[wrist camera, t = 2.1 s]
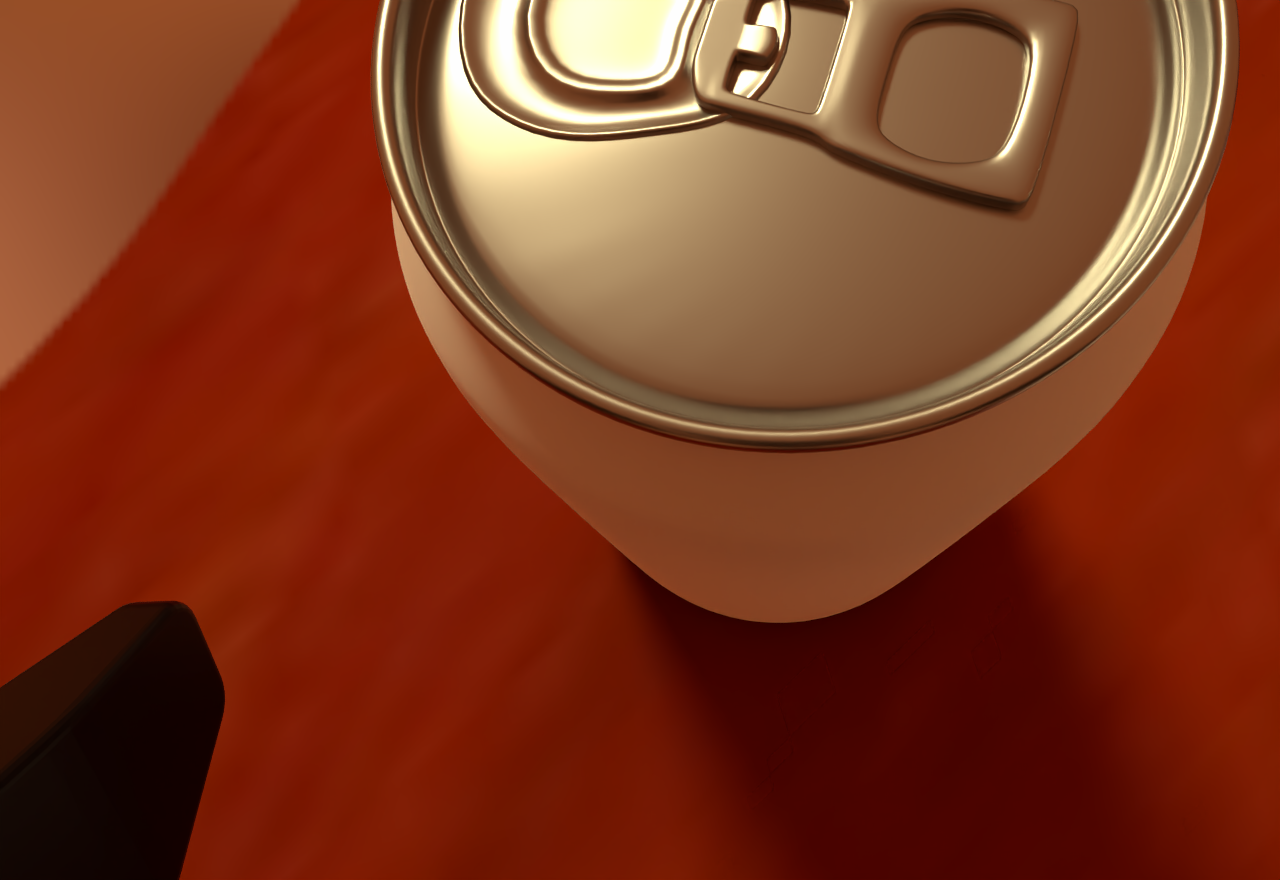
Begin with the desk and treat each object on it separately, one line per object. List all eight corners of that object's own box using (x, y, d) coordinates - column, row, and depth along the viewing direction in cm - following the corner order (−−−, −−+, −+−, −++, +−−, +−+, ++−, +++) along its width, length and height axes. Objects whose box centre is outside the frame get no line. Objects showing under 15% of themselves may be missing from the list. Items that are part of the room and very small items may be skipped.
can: (652, 222, 20) (487, -436, 8) (1007, 311, 19) (1406, -303, 7) (539, 560, 19) (161, 359, 7) (910, 677, 18) (1196, 667, 6)
